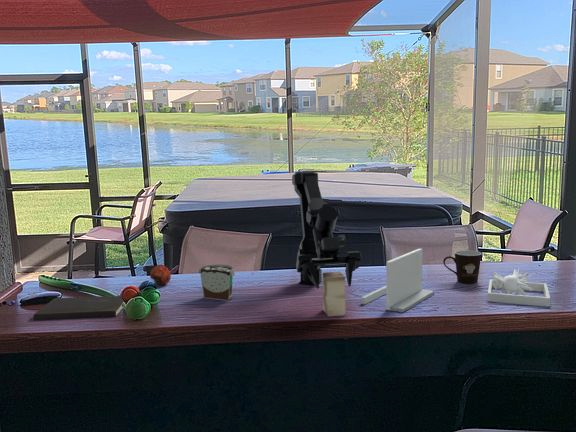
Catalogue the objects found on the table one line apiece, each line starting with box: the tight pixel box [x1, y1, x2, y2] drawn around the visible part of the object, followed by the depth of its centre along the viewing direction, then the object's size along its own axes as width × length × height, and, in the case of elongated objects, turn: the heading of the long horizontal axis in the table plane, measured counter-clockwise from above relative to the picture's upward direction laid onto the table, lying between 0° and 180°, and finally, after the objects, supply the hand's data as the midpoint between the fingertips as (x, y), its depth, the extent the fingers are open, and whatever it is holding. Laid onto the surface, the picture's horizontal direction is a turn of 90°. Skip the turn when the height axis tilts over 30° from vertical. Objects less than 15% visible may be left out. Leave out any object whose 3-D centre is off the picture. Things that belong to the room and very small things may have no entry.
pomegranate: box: [149, 264, 172, 286], centre depth 184 cm, size 7×7×10 cm
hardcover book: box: [33, 295, 124, 321], centre depth 158 cm, size 16×23×2 cm
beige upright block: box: [322, 271, 346, 317], centre depth 149 cm, size 6×5×11 cm
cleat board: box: [360, 248, 435, 313], centre depth 160 cm, size 14×22×14 cm, turn 142°
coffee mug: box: [442, 249, 482, 285], centre depth 178 cm, size 12×9×10 cm
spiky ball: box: [490, 267, 534, 296], centre depth 162 cm, size 11×12×8 cm
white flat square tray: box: [487, 279, 551, 308], centre depth 160 cm, size 17×17×2 cm
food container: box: [198, 264, 236, 302], centre depth 167 cm, size 12×6×10 cm, turn 65°
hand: (334, 286), depth 148 cm, fingers open, 9 cm apart
